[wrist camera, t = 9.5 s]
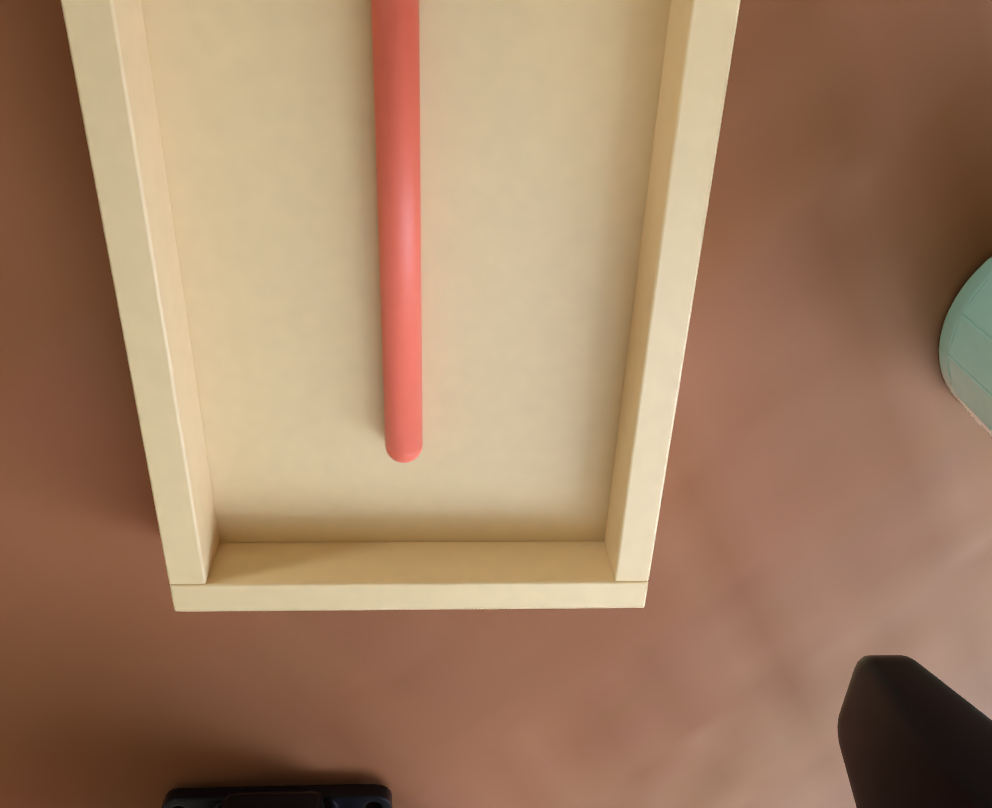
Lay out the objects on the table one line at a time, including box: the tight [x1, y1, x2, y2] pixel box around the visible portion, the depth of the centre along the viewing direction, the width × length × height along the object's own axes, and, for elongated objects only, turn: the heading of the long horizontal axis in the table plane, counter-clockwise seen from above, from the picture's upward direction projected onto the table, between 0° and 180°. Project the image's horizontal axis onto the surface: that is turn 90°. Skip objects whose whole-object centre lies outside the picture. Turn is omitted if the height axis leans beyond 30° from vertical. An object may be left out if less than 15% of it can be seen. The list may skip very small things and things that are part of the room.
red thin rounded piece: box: [371, 0, 423, 463], centre depth 17 cm, size 7×1×10 cm
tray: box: [61, 0, 740, 612], centre depth 17 cm, size 19×11×2 cm, turn 178°
